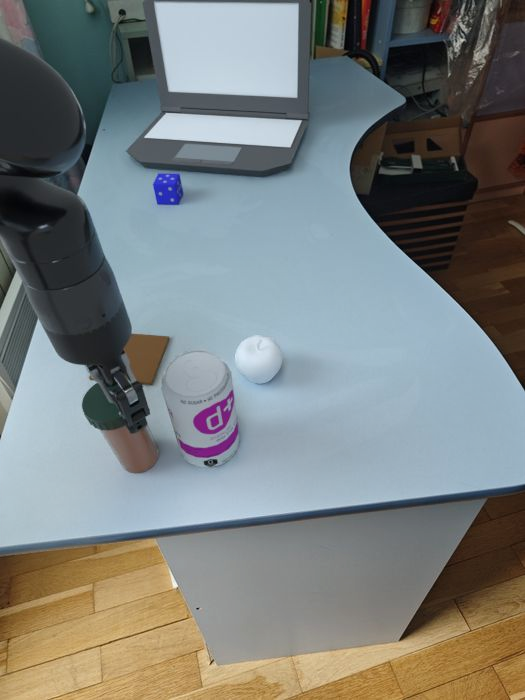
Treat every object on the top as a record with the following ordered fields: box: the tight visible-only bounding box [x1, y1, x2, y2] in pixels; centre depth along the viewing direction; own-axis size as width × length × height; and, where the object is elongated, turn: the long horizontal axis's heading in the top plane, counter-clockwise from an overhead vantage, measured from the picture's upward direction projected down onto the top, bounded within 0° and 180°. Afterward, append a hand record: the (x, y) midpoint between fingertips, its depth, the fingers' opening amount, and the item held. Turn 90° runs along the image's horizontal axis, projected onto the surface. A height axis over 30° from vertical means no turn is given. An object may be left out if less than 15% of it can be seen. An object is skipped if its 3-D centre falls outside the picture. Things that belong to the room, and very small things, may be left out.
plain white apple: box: [234, 334, 283, 385], centre depth 71 cm, size 7×7×8 cm
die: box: [152, 172, 184, 206], centre depth 110 cm, size 5×5×5 cm
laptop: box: [125, 0, 313, 178], centre depth 117 cm, size 43×31×34 cm
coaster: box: [88, 333, 170, 386], centre depth 77 cm, size 10×10×1 cm
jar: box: [98, 424, 160, 474], centre depth 60 cm, size 5×5×14 cm
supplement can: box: [160, 349, 241, 469], centre depth 61 cm, size 8×8×15 cm
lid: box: [81, 382, 125, 431], centre depth 55 cm, size 6×6×2 cm
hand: (125, 409), depth 57 cm, fingers closed on lid, 6 cm apart
